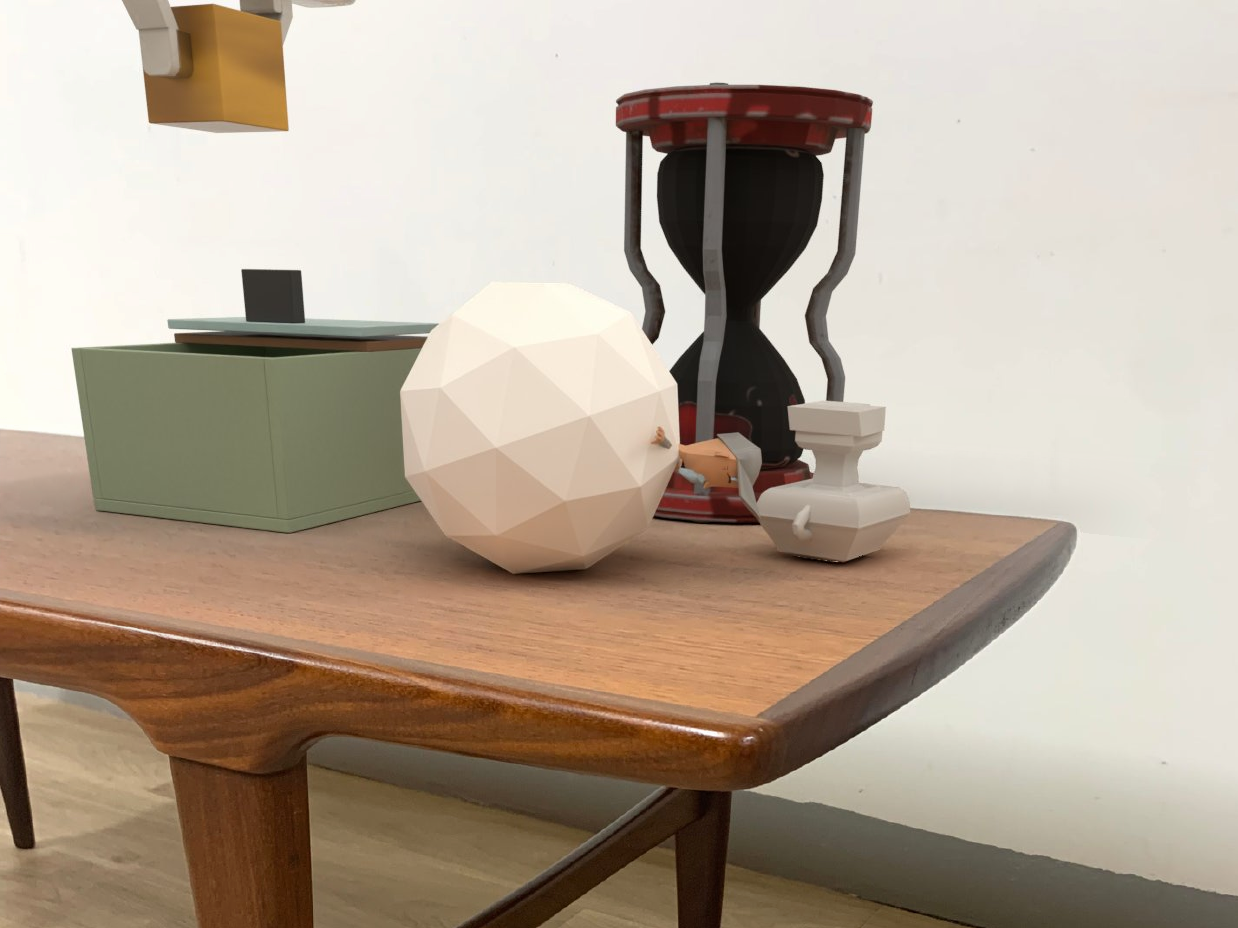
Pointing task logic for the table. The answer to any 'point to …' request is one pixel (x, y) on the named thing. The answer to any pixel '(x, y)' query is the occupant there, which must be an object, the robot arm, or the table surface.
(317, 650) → the table surface
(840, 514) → the beige squat bottle
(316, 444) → the case
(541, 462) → the person on sphere
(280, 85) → the block
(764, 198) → the hourglass
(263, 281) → the blue-grey flat panel
